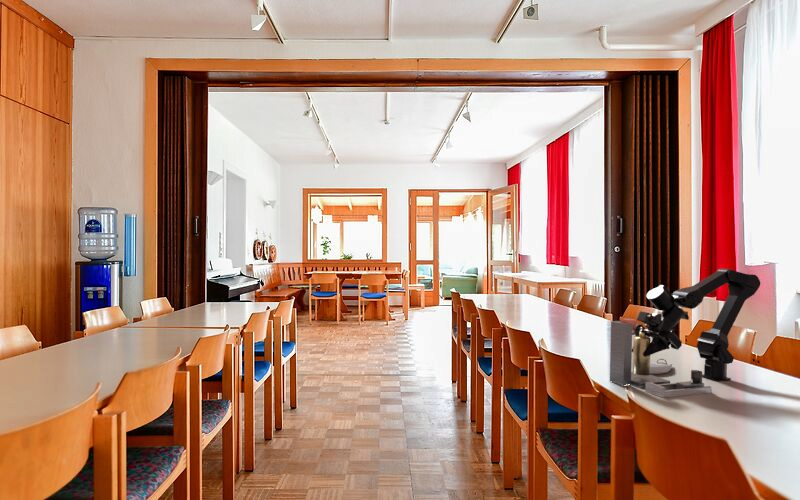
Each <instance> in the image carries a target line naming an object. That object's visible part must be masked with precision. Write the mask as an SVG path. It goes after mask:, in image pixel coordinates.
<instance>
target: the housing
mask: <svg viewBox="0 0 800 500" xmlns="http://www.w3.org/2000/svg"><path fill="white" fill-rule="evenodd" d="M650 343H651V337H645V333H639V336H635V335H633V342H632V348H633V352H632V354H633V356H632V357H633V359H632V360H633V361H632V372H633V373H634V374H637V375H644V376H647V375H651V374H650V364H651V355H649V356H646V357H644V356H643V353H644V351H645V350H646V349H647V347H648V346H649V345H650Z"/></svg>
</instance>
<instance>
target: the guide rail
mask: <svg viewBox="0 0 800 500" xmlns="http://www.w3.org/2000/svg"><path fill="white" fill-rule="evenodd" d="M644 389H645V391H644V392H646V393H649V394H651V395H654V396H657V397H659V398H662V399H664V398H674V397H683V396H693V395H702V394H711V393H712V392H713V391H712V390H713V387H712V386H710V385H709V386H704V387H696V388H686V389H676V382H670V383H668V384H654V383H651V382H646V384H645V388H644Z"/></svg>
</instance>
